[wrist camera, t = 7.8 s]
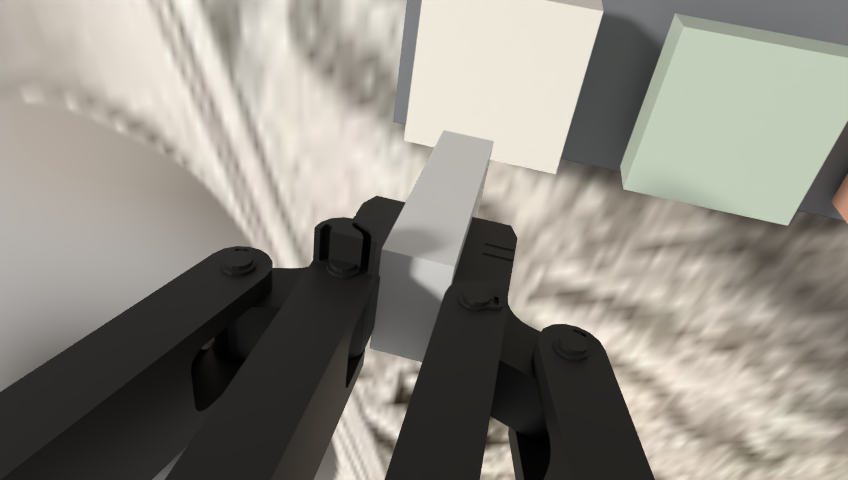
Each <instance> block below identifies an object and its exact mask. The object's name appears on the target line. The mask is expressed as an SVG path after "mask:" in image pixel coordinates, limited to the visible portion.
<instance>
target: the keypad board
mask: <svg viewBox="0 0 848 480" xmlns="http://www.w3.org/2000/svg"><path fill="white" fill-rule="evenodd" d="M421 3H422V0H407V6H406V15H405V23H404V32H403V41H402V49H401V58H400V67H399V76H398V84H397V93H396V102H395V110H394V119H393V122H396V123H400V124H405V125H406V120H407V113H408V105H409V97H410V89H411V81H412V74H413V66H414V58H415V50H416V42H417V34H418V27H419V19H420V11H421ZM602 6H603V15H602V18H601V21H600V25H599V28H598V32H597V35H596V38H595V42H594V45H593V49H592V52H591V56H590V59H589V62H588V66H587V69H586V73H585V76H584V79H583V83H582V86H581V90H580V93H579V96H578V100H577V103H576V107H575V110H574V113H573V117H572V120H571V124H570V127H569V130H568V134H567V137H566V141H565V144H564V147H563V151H562V154H561V158H560V159H565V160H569V161H574V162H579V163H583V164H588V165H592V166H597V167H601V168H606V169H611V170H615V171H620V172H621V169H620V165H621V163H622V160H623V157H624V154H625V151H626V149H627V146H628V143H629V140H630V137H631V135H632V132H633V129H634V126H635V124H636V121H637V118H638V115H639V112H640V110H641V107H642V104H643V101H644V98H645V96H646V93H647V90H648V87H649V85H650V82H651V79H652V76H653V73H654V71H655V68H656V65H657V62H658V59H659V57H660V54H661V51H662V48H663V46H664V43H665V40H666V37H667V34H668V32H669V29H670V26H671V23H672V20H673V18H674V15H675V13H676V14H681V15H687V16H692V17H697V18H702V19H708V20H713V21H718V22H724V23H729V24H734V25H740V26H745V27H750V28H755V29H761V30H766V31H771V32H777V33H782V34H787V35H793V36H798V37H803V38H808V39H814V40H819V41H824V42H830V43H835V44H840V45H845V46H848V0H602ZM847 174H848V121H847V123H846V125H845V126H844V128H843V130H842V132H841V133H840V135H839V137H838V139H837V140H836V142H835V144H834V146H833V147H832V149H831V151H830V153H829V154H828V156H827V158H826V160H825V161H824V163H823V165H822V167H821V168H820V170H819V172H818V174H817V175H816V177H815V179H814V181H813V182H812V184H811V186H810V188H809V189H808V191H807V193H806V195H805V196H804V198H803V200H802V202H801V203H800V205H799V207H798V209H797V210H798V211H803V212H807V213H812V214H816V215H821V216H825V217H830V218H835V219H839V220H844V218H843V217H842V216H841V214H840V213H839V212H838V210H837V209H836V208H835V206H834V205H833V204H832V202H831V200H832V199H833V197H834V195H835V194H836V192H837V191H838V189H839V187H840V186H841V184H842V182H843V181H844V179H845V177H846V176H847ZM844 221H845V220H844Z"/></svg>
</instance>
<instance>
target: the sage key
mask: <svg viewBox="0 0 848 480" xmlns="http://www.w3.org/2000/svg"><path fill="white" fill-rule="evenodd" d="M847 121H848V46H845V45H840V44H835V43H830V42H824V41H819V40H814V39H808V38H803V37H798V36H793V35H787V34H782V33H777V32H771V31H766V30H761V29H755V28H750V27H745V26H740V25H734V24H729V23H724V22H718V21H713V20H708V19H702V18H697V17H692V16H687V15H681V14H676V13H675V15H674V18H673V20H672V23H671V26H670V29H669V32H668V34H667V37H666V40H665V43H664V46H663V48H662V51H661V54H660V57H659V59H658V62H657V65H656V68H655V71H654V73H653V76H652V79H651V82H650V85H649V87H648V90H647V93H646V96H645V98H644V101H643V104H642V107H641V110H640V112H639V115H638V118H637V121H636V124H635V126H634V129H633V132H632V135H631V137H630V140H629V143H628V146H627V149H626V151H625V154H624V157H623V160H622V163H621V165H620V169H621V176H622V183H623V189H624V190H629V191H633V192H638V193H642V194H647V195H651V196H656V197H660V198H665V199H669V200H674V201H678V202H683V203H687V204H692V205H696V206H701V207H705V208H710V209H714V210H719V211H724V212H728V213H733V214H737V215H742V216H746V217H751V218H755V219H760V220H764V221H769V222H773V223H778V224H782V225H787V226H788V224H789V223H790V221H791V219H792V217H793V216H794V214H795V212H796V210H797V209H798V207H799V205H800V203H801V202H802V200H803V198H804V196H805V195H806V193H807V191H808V189H809V188H810V186H811V184H812V182H813V181H814V179H815V177H816V175H817V174H818V172H819V170H820V168H821V167H822V165H823V163H824V161H825V160H826V158H827V156H828V154H829V153H830V151H831V149H832V147H833V146H834V144H835V142H836V140H837V139H838V137H839V135H840V133H841V132H842V130H843V128H844V126H845V125H846V123H847Z"/></svg>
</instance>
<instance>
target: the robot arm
mask: <svg viewBox="0 0 848 480" xmlns="http://www.w3.org/2000/svg"><path fill="white" fill-rule="evenodd" d="M493 143H494V141H491V140H487V139H482V138H477V137H473V136H468V135H464V134H459V133H455V132H450V131H445V130H443V132H442V134H441V136H440V138H439V140H438V142H437V144H436V146H435V148H434V150H433V151H432V153H431V155H430V157H429V159H428V161H427V163H426V165H425V167H424V169H423V171H422V173H421V175H420V176H419V178H418V180H417V182H416V184H415V186H414V188H413V190H412V192H411V194H410V196H409V198H408V199H407V201H406V203H405V202H401V201H397V200H392V199H388V198H384V197H379V196H375V197H374V198H372V199H370V200H368V201H366V202H364V203H363V204H362V206H361V207H360V209H359V210H358V212H357V213H356V216H354V218H353V219H352V218H344V217H343V218H331V219H329V220H326V221H323V222H321V223H320V224H318V225H317V226H316V227H315V231H314V254H313V261H312V263H311V264H310V266H309V267H305V268H272V260H271V259H270V257H269V255H267V254H266V253H264V252H263V251H261V250H259V249H255V248H252V247H241V246H236V247H230V248H225V249H222V250H220V251H218V252H216V253H213V254H212V255H210V256H209V257H207V258H206V259H204V260H203V261H201V262H200V263H198V264H197V265H195V266H194V267H192V268H190V269H189V270H187V271H186V272H184V273H183V274H181V275H180V276H178V277H177V278H175V279H173V280H172V281H170V282H169V283H167V284H166V285H164V286H163V287H162V288H160V289H158V290H157V291H155V292H153V293H152V294H150V295H149V296H148V297H146V298H144V299H143V300H141V301H140V302H138V303H137V304H135V305H134V306H132V307H130V308H129V309H127V310H126V311H124V312H123V313H121V314H120V315H118V316H117V317H115V318H113V319H112V320H110V321H109V322H108V323H106V324H104V325H103V326H101V327H100V328H98V329H97V330H95V331H93V332H92V333H90V334H89V335H87V336H86V337H84V338H83V339H81V340H80V341H78V342H77V343H75V344H74V345H72V346H70V347H69V348H67V349H66V350H65V351H63V352H61V353H60V354H58V355H57V356H55V357H54V358H52V359H50V360H49V361H47V362H46V363H44V364H43V365H41V366H40V367H38V368H37V369H35V370H34V371H32V372H31V373H29V374H27V375H26V376H24V377H23V378H21V379H20V380H18V381H17V382H15V383H13V384H12V385H11V386H9V387H7V388H6V389H4V390H3V391H1V392H0V480H152V479H153V478H154V477H155V476H156V475H157V474H158V473H159V472H160V471H161V470H162V469H164V467H166V466H167V465H168V464H169V463H170V462H171V461H172V460H173V459H174V458H175V457H176V456H177V455H178V454H179V453H180V452H181V451H182V450H183V449H184V448H185V447H186V446H187V448H186V449H185V451H184V452H183V454H182V455H181V457H180V458H179V459H178V461H177V462H176V464H175V465H174V467H173V469H172V470H171V471H170V473H169V474H168V476H167V477H166V479H165V480H313V479H314V477H315V475H316V473H317V470H318V468H319V466H320V463H321V461H322V458H323V456H324V454H325V452H326V449H327V447H328V445H329V442H330V440H331V438H332V436H333V433H334V431H335V429H336V426H337V424H338V422H339V419H340V417H341V415H342V412H343V410H344V408H345V406H346V403H347V401H348V399H349V396H350V394H351V392H352V389H353V387H354V385H355V382H356V380H357V378H358V375H359V373H360V371H361V368H362V366H363V362H364V354H365V347H366V345H367V343H368V340H369V338H370V336H371V342H370V348H371V349H375V350H378V351H382V352H386V353H390V354H394V355H397V356H401V357H405V358H409V359H413V360H416V361H420V362H422V365H421V368H420V371H419V375H418V378H417V381H416V384H415V387H414V390H413V393H412V396H411V399H410V403H409V406H408V409H407V412H406V415H405V418H404V421H403V424H402V427H401V430H400V434H399V437H398V440H397V443H396V446H395V449H394V452H393V455H392V458H391V462H390V465H389V468H388V471H387V474H386V477H385V480H480V474H481V468H482V462H483V456H484V450H485V444H486V438H487V432H488V426H489V420H490V416H491V417H493V418H495V419H496V420H498V421H500V422H501V423H503V424H505V425H507V426H508V427H509V431H508V436H509V442H510V448H511V454H512V460H513V466H514V472H515V478H516V480H655V479H654V476H653V474H652V471H651V469H650V466H649V463H648V461H647V458H646V455H645V453H644V450H643V448H642V445H641V442H640V440H639V437H638V435H637V432H636V429H635V427H634V424H633V421H632V419H631V416H630V414H629V411H628V408H627V406H626V403H625V401H624V398H623V395H622V393H621V390H620V388H619V385H618V382H617V380H616V377H615V374H614V372H613V369H612V367H611V364H610V361H609V359H608V356H607V354H606V351H605V349H604V348H603V346H602V344H601V343H600V341H599V340H598V339H596V338H595V337H594V336H593V335H592V334H590V333H589V332H587V331H585V330H583V329H581V328H579V327H576V326H571V325H567V324H554V325H551V326H548V327H546V328H544V329H543V330H542V331H541V332H540V331H538V330H536V329H534V328H532V327H530V326H528V325H527V324H525V323H523V322H522V321H521V320H519V319H518V318H517V317H516V316H515V315H514V314H513V312H512V311H511V310H510V307H509V305H508V291H509V285H510V279H511V273H512V267H513V261H514V255H515V249H516V243H517V237H516V235H515V233H514V231H513V229H512V227H511V226H510V225H505V224H501V223H497V222H493V221H488V220H484V219H480V218H477V216H478V211H479V207H480V202H481V198H482V193H483V189H484V184H485V179H486V175H487V170H488V166H489V161H490V157H491V152H492V148H493Z"/></svg>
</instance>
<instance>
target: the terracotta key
mask: <svg viewBox="0 0 848 480" xmlns="http://www.w3.org/2000/svg"><path fill="white" fill-rule="evenodd" d="M831 202H832V204H833V205H834V206H835V208H836V209H837V210H838V212H839V213H840V214H841V216H842V217H843V218H844V220H845V221H846V222H847V224H848V174H847V176H846V177H845V179H844V181H843V182H842V184H841V186H840V187H839V189H838V191H837V192H836V194H835V195H834V197H833V199H832V200H831Z"/></svg>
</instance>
